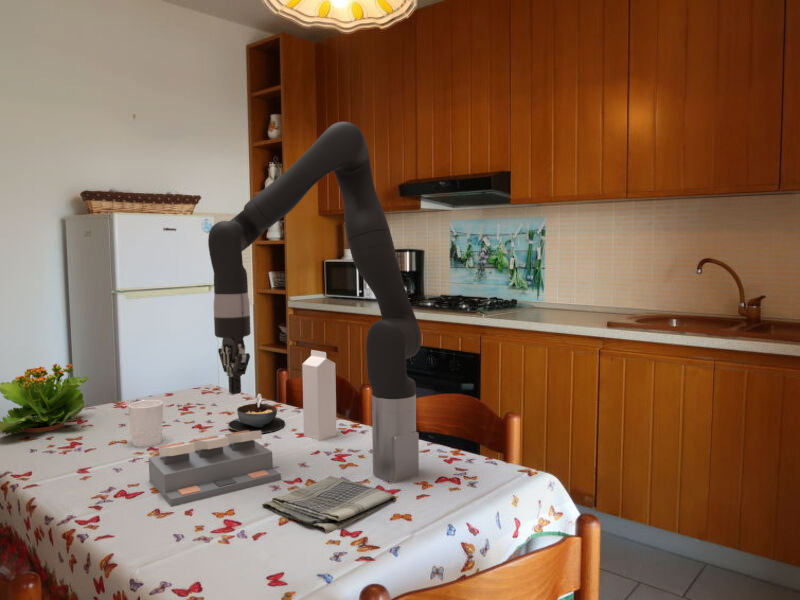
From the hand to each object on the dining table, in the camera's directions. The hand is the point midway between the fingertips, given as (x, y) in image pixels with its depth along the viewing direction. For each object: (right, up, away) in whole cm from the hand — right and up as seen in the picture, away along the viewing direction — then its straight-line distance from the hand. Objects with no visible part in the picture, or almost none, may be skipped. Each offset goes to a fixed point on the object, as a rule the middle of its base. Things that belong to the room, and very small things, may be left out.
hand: (235, 393), depth 134 cm
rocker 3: (+2, -9, -2) cm, 10 cm away
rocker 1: (-9, -10, -10) cm, 17 cm away
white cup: (-27, -15, +18) cm, 36 cm away
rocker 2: (-3, -10, -6) cm, 12 cm away
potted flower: (-61, -15, +33) cm, 71 cm away
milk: (+16, -15, +23) cm, 31 cm away
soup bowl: (-2, -14, +32) cm, 35 cm away
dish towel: (+23, -19, -20) cm, 35 cm away
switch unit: (-2, -17, -7) cm, 19 cm away
